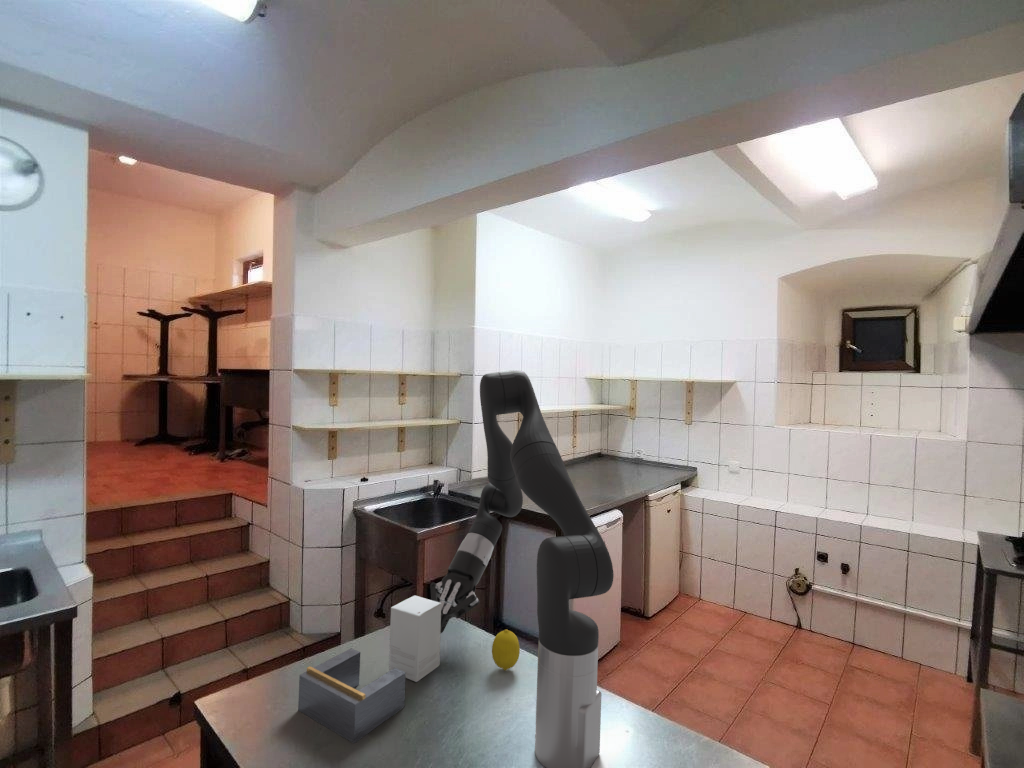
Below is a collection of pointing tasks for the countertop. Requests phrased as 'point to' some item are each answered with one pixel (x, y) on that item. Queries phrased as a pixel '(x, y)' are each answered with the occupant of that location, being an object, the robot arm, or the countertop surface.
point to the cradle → (349, 696)
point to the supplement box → (415, 637)
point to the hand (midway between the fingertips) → (434, 632)
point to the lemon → (505, 649)
